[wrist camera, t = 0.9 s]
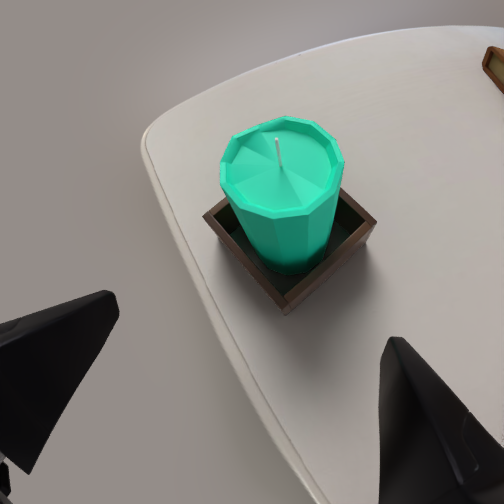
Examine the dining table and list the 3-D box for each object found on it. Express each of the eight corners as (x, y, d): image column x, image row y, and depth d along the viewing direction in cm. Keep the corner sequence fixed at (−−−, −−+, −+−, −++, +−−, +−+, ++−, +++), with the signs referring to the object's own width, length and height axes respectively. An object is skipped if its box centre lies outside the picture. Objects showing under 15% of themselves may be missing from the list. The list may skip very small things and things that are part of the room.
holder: (285, 315, 21) (281, 310, 17) (217, 236, 24) (201, 216, 20) (366, 242, 21) (377, 221, 18) (294, 174, 24) (291, 146, 21)
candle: (330, 208, 23) (344, 97, 12) (325, 279, 21) (349, 206, 10) (259, 202, 24) (223, 96, 13) (248, 271, 22) (193, 197, 11)
